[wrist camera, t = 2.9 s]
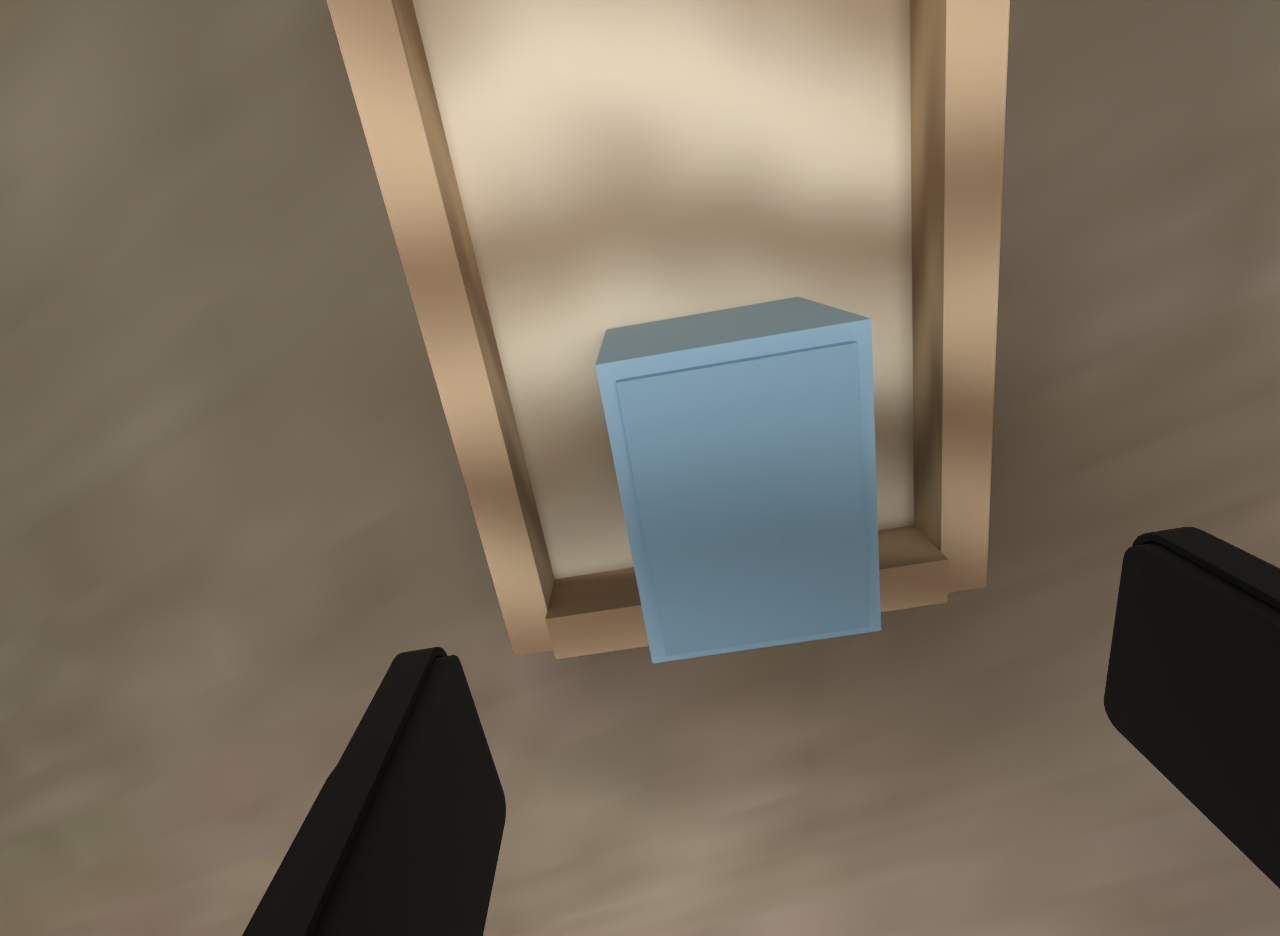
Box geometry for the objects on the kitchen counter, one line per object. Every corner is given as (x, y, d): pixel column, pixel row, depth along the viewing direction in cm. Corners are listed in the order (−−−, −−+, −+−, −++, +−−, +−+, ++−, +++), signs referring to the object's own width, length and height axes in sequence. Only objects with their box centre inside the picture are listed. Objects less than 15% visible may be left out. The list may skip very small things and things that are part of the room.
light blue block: (815, 528, 21) (885, 637, 15) (647, 554, 22) (652, 670, 16) (798, 296, 18) (876, 320, 13) (606, 329, 19) (594, 367, 13)
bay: (942, 545, 23) (1044, 643, 17) (528, 607, 23) (495, 721, 18) (951, -332, 15) (1154, -697, 9) (314, -194, 15) (127, -452, 10)
